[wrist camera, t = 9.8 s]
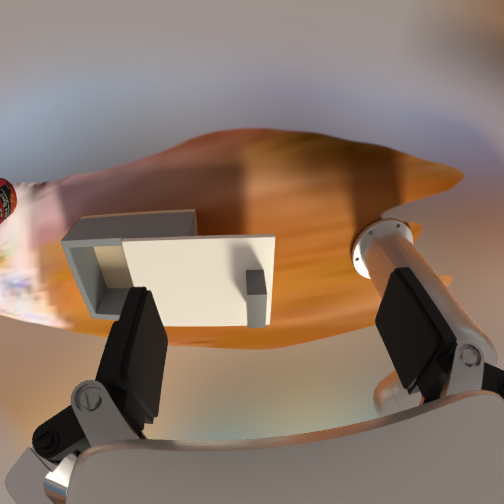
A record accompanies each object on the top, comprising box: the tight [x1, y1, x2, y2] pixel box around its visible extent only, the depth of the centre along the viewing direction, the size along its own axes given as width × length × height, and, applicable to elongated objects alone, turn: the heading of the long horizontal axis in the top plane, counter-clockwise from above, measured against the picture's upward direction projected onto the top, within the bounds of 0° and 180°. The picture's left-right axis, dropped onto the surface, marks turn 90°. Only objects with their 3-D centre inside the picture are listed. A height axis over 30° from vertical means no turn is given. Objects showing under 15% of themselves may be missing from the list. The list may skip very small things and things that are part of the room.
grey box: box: [61, 209, 198, 320], centre depth 44 cm, size 20×16×8 cm
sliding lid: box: [122, 234, 275, 328], centre depth 38 cm, size 20×16×6 cm
